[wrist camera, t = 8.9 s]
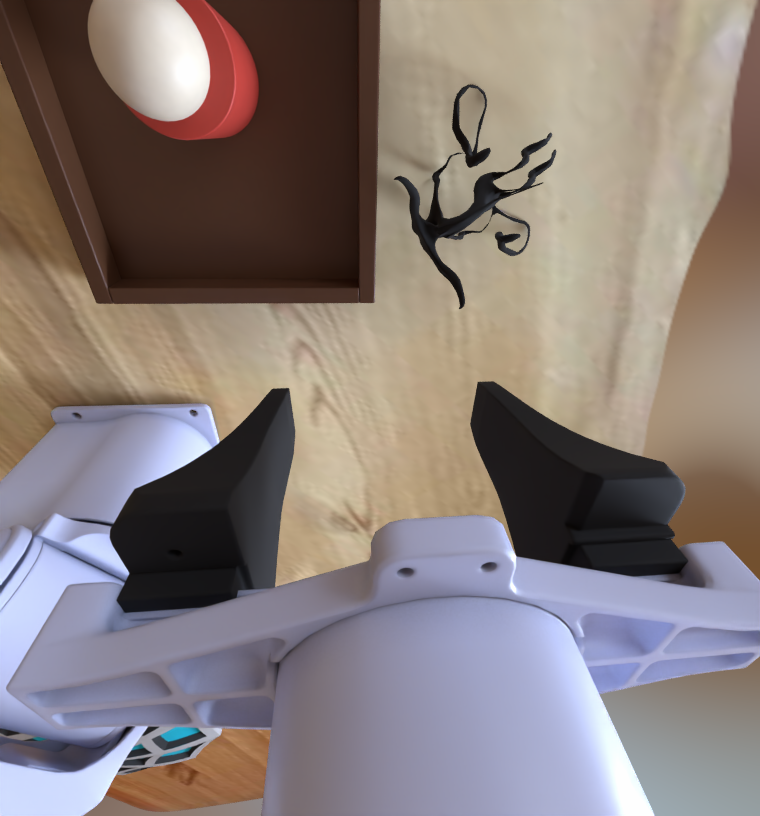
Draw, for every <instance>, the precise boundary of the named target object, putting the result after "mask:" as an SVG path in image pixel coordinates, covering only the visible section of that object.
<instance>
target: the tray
mask: <svg viewBox="0 0 760 816" xmlns="http://www.w3.org/2000/svg"><path fill="white" fill-rule="evenodd" d="M205 1H206V2H207V3H208V4H209V5H210V6H212V7H213V8H214V9H215V10H216V11H217V12H218V13H219V14H220V15H221V16H222V17H223V18H224V19H225V20H226V21H227V22H228V23H229V24H230V25H231V26H232V27H233V28H234V29H235V30H236V31H237V32H238V33H239V35H240V36H241V37H242V38H243V40H244V42H245V43H246V45H247V47H248V49H249V51H250V53H251V55H252V57H253V60H254V63H255V66H256V70H257V75H258V82H259V96H258V103H257V107H256V110H255V113H254V115H253V117H252V119H251V120H250V122H249V123H248V125H247V126H246V127H245V128H244V129H243V130H242V131H240V132H239V133H237V134H235V135H233V136H230V137H226V138H214V139H199V140H180V139H175V138H171V137H168V136H165V135H163V134H161V133H159V132H157V131H155V130H153V129H152V128H150V127H149V126H147V125H146V124H145V123H143V122H142V121H141V120H140V119H139V118H137V117H136V115H135V114H134V113H133V112H132V111H131V110H130V109H129V108H128V107H127V106H126V104H125V103H124V102H123V100H121V99H120V98H119V96H118V95H117V94H116V93H115V92H114V91H113V90H112V89H111V87H110V86H109V85H108V83H107V82H106V80H105V79H104V77H103V76H102V74H101V72H100V71H99V69H98V67H97V64H96V62H95V60H94V57H93V54H92V51H91V47H90V43H89V37H88V15H89V11H90V7H91V5H92V2H93V0H0V61H1V64H2V66H3V69H4V71H5V74H6V76H7V79H8V81H9V84H10V86H11V89H12V92H13V94H14V97H15V99H16V102H17V104H18V107H19V109H20V112H21V114H22V117H23V119H24V122H25V124H26V127H27V129H28V132H29V134H30V137H31V139H32V142H33V144H34V147H35V149H36V152H37V154H38V157H39V159H40V162H41V164H42V167H43V169H44V172H45V175H46V177H47V180H48V182H49V185H50V187H51V190H52V192H53V195H54V197H55V200H56V202H57V205H58V207H59V210H60V212H61V215H62V217H63V220H64V222H65V225H66V227H67V230H68V232H69V235H70V237H71V240H72V242H73V245H74V247H75V250H76V252H77V255H78V258H79V260H80V263H81V265H82V268H83V270H84V273H85V275H86V278H87V280H88V283H89V285H90V288H91V290H92V293H93V295H94V298H95V300H96V303H98V304H112V303H114V304H193V303H374V302H375V261H376V209H377V157H378V105H379V54H380V2H381V0H205Z"/></svg>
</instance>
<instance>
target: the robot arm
mask: <svg viewBox="0 0 760 816" xmlns="http://www.w3.org/2000/svg"><path fill="white" fill-rule="evenodd" d="M191 410H195V411H197V413H194V412H192V411H191ZM76 413H78V414H80V415H81V416H80V415H78V414H76ZM51 417H52V418H53V420H54V422H55V425H54V426H53V427H52V429H51V430H50V431H49V432H48V433H47V434H46V435H45V436H44V437H43V438H42V439H41V440H40V441H39V442H38V443H37V444H36V445H35V446H34V447H33V448H32V449H31V450H30V451H29V452H28V453H27V454H26V455H25V456H24V457H23V458H22V459H21V460H20V461H19V462H18V464H17V465H16V466H15V467H14V468H13V469H12V470H11V471H10V472H9V473H8V474H7V475H6V476H5V477H4V478H3V479H2V480H1V481H0V728H1V729H6V730H10V731H15V732H19V733H23V734H28V735H32V736H36V737H41V738H45V739H46V740H43V741H22V740H17V739H13V738H8V737H4V736H0V816H82V815H84V814H85V813H87V812H88V811H90V810H91V809H93V808H94V807H95V806H96V805H97V804H99V803H100V802H101V801H102V799H103V797H104V795H105V794H106V792H107V790H108V788H109V786H110V784H111V782H112V781H113V779H114V777H115V775H116V774H117V772H118V770H119V769H120V767H121V765H122V764H123V762H124V760H125V759H126V757H127V756H128V754H129V753H130V751H131V750H132V748H133V747H134V745H135V744H136V742H137V741H138V740H139V738H140V737H141V736H142V734H143V733H144V732H145V730H146V729H147V728H148V727H193V728H227V729H260V730H271V736H270V744H269V753H268V762H267V770H266V779H265V787H264V796H263V805H262V813H261V816H655V815H654V813H653V811H652V809H651V807H650V804H649V802H648V800H647V798H646V796H645V793H644V791H643V789H642V787H641V785H640V782H639V780H638V778H637V776H636V774H635V772H634V769H633V767H632V765H631V763H630V761H629V759H628V756H627V754H626V752H625V750H624V748H623V745H622V743H621V741H620V739H619V737H618V734H617V732H616V730H615V728H614V726H613V724H612V721H611V719H610V717H609V715H608V713H607V710H606V708H605V706H604V704H603V702H602V699H601V697H600V695H599V694H602V693H606V692H611V691H615V690H620V689H625V688H629V687H634V686H639V685H643V684H648V683H652V682H657V681H662V680H666V679H672V678H677V677H682V676H687V675H693V674H700V673H706V672H713V671H721V670H729V669H739V668H745V667H747V666H748V665H749V664H751V663H752V662H753V661H754V660H755V659H757V658H758V657H759V656H760V581H759V580H758V579H757V577H756V576H755V575H754V574H753V573H752V572H751V571H750V570H749V569H748V568H747V567H746V566H745V564H743V562H742V561H741V560H740V559H739V558H738V557H737V556H736V555H735V554H734V553H733V552H732V550H731V549H730V548H729V547H728V546H727V545H726V544H725V543H724V542H707V543H691V544H686V545H684V546H682V547H680V548H679V549H678V548H677V546H676V545H675V544H674V543H673V541H672V540H671V539H673V538H674V536H675V534H674V532H673V531H672V529H671V528H670V527H669V526H668V525H667V524H668V523H669V521H670V520H671V518H672V517H673V515H674V514H675V512H676V511H677V509H678V508H679V506H680V505H681V502H682V501H683V499H684V496H685V486H684V484H683V482H682V481H681V479H680V478H679V477H678V476H677V475H676V474H675V473H674V472H673V471H672V470H671V469H670V468H669V467H668V466H667V465H666V464H665V463H664V462H661V461H657V460H653V459H649V458H645V457H641V456H638V455H634V454H630V453H627V452H624V451H621V450H618V449H615V448H612V447H609V446H606V445H603V444H601V443H598V442H596V441H593V440H591V439H589V438H586V437H584V436H581V435H579V434H577V433H575V432H573V431H571V430H569V429H567V428H565V427H563V426H561V425H559V424H557V423H555V422H554V421H552V420H550V419H549V418H547V417H545V416H544V415H542V414H540V413H539V412H537V411H536V410H534V409H533V408H531V407H530V406H528V405H527V404H525V403H524V402H522V401H521V400H520V399H518V398H517V397H515V396H514V395H513V394H511V393H510V392H508V391H507V390H506V389H504V388H503V387H501V386H500V385H498V384H497V383H495V382H478V384H477V389H476V395H475V401H474V406H473V412H472V417H471V423H470V425H471V429H472V433H473V437H474V440H475V443H476V446H477V449H478V451H479V453H480V456H481V458H482V460H483V462H484V465H485V467H486V469H487V471H488V473H489V476H490V478H491V480H492V482H493V484H494V487H495V489H496V491H497V494H498V496H499V499H500V502H501V505H502V508H503V511H504V514H505V517H506V521H507V524H508V527H509V531H510V534H511V538H512V541H513V545H514V549H515V553H516V556H515V554H514V551H513V549H512V546H511V544H510V541H509V539H508V537H507V534H506V532H505V529H504V527H503V524H501V523H500V522H499V521H497V520H496V519H495V518H493V517H488V516H480V515H466V516H449V517H432V518H414V519H402V520H398V521H394V522H389V523H388V524H386V525H385V526H383V527H382V528H381V529H379V530H378V531H376V532H375V534H374V537H373V539H372V542H371V556H370V560H369V561H366V562H362V563H359V564H355V565H352V566H348V567H345V568H341V569H338V570H334V571H331V572H327V573H324V574H320V575H316V576H313V577H309V578H306V579H302V580H299V581H295V582H292V583H288V584H285V585H281V586H278V587H275V579H276V565H277V553H278V542H279V531H280V521H281V511H282V505H283V500H284V495H285V491H286V486H287V482H288V477H289V473H290V468H291V463H292V459H293V454H294V442H295V426H294V419H293V412H292V405H291V398H290V391H289V388H280V389H272V390H271V391H270V392H269V393H268V394H267V395H266V397H265V398H264V399H263V400H262V401H261V402H260V404H259V405H258V406H257V407H256V408H255V409H254V410H253V412H252V413H251V414H250V415H249V416H248V417H247V418H246V419H245V420H244V421H243V422H242V423H241V424H240V425H239V426H238V427H237V428H236V429H235V430H234V431H233V432H232V433H231V434H229V435H228V436H227V437H226V438H225V439H223V440H222V441H221V442H220V441H219V438H218V434H217V430H216V426H215V423H214V419H213V415H212V412H211V409H210V407H209V406H208V405H206V404H202V403H198V404H153V405H109V406H65V407H56V408H54V409H53V410H52V411H51Z"/></svg>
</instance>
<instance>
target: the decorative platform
mask: <svg viewBox="0 0 760 816" xmlns="http://www.w3.org/2000/svg"><path fill="white" fill-rule="evenodd" d="M221 732H222V728H193V727H148V728H147V729H146V730H145V732H144V733H143V734H142V736H141V737H140V738H139V740H138V741H137V742H136V744H135V745H134V747H133V748H132V750H131V751H130V753H129V754H128V756H127V757H126V759H125V760H124V762H123V764H122V765H121V767H120V769H119V770H118V772H117V774H116V775H124V774H129V773H133V772H136V771H140V770H143V769H147V768H150V767H154V766H161V765H167V764H173V763H177V762H181V761H185V760H188V759H192V758H195V757H196V756H197V755H198V753H199V752H200V751H201V750H202V749H203V748H204V747H205V746H206V745H207V744H208V743H210V742H211V741H212V740H214V739H215V738H217V737H218V736H220V735H221ZM0 736H4V737H8V738H13V739H17V740H22V741H43V740H46V739H45V738H41V737H36V736H32V735H28V734H23V733H19V732H15V731H10V730H6V729H1V728H0Z"/></svg>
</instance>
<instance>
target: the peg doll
mask: <svg viewBox="0 0 760 816" xmlns="http://www.w3.org/2000/svg"><path fill="white" fill-rule="evenodd" d="M88 37H89V43H90V47H91V51H92V54H93V57H94V60H95V62H96V64H97V67H98V69H99V71H100V72H101V74H102V76H103V77H104V79H105V80H106V82H107V83H108V85H109V86H110V87H111V89H112V90H113V91H114V92H115V93H116V94H117V95H118V96H119V98H120V99H121V100H123V102H124V103H125V104H126V106H127V107H128V108H129V109H130V110H131V111H132V112H133V113H134V114H135V115H136V117H137V118H139V119H140V120H141V121H142V122H143V123H145V124H146V125H147V126H149V127H150V128H152V129H153V130H155V131H157V132H159V133H161V134H163V135H165V136H168V137H171V138H175V139H180V140H199V139H214V138H226V137H230V136H233V135H235V134H237V133H239V132H240V131H242V130H243V129H244V128H245V127H246V126H247V125H248V123H249V122H250V120H251V119H252V117H253V115H254V113H255V110H256V107H257V103H258V96H259V82H258V75H257V70H256V66H255V63H254V60H253V57H252V55H251V53H250V51H249V49H248V47H247V45H246V43H245V42H244V40H243V38H242V37H241V36H240V35H239V33H238V32H237V31H236V30H235V29H234V28H233V27H232V26H231V25H230V24H229V23H228V22H227V21H226V20H225V19H224V18H223V17H222V16H221V15H220V14H219V13H218V12H217V11H216V10H215V9H214V8H213V7H212V6H210V5H209V4H208V3H207V2H206V1H205V0H93V2H92V5H91V7H90V11H89V15H88Z"/></svg>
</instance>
